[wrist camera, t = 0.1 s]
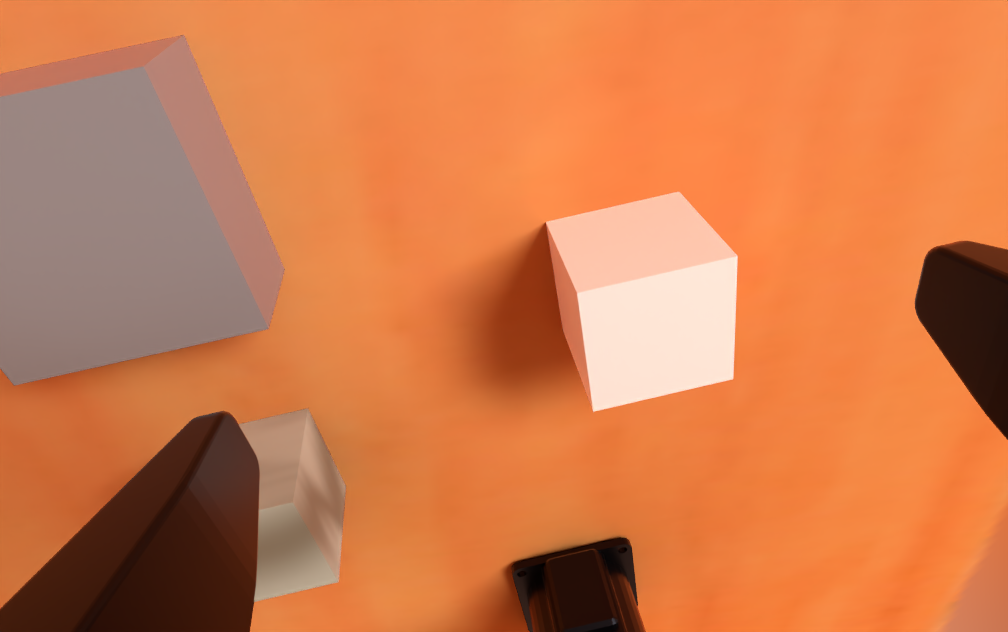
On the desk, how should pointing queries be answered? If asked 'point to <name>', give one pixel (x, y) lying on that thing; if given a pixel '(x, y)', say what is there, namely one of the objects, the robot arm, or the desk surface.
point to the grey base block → (123, 215)
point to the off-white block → (645, 299)
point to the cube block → (295, 505)
